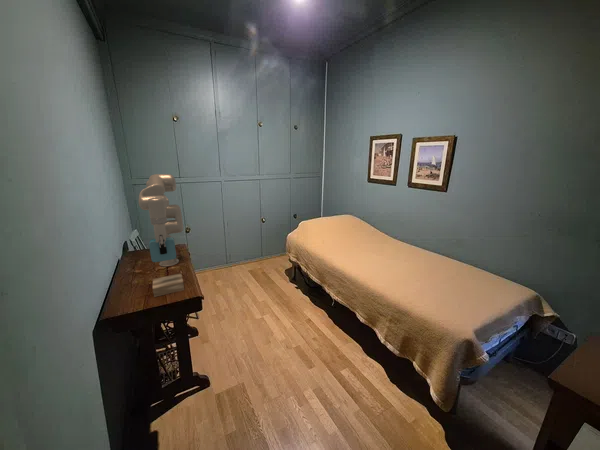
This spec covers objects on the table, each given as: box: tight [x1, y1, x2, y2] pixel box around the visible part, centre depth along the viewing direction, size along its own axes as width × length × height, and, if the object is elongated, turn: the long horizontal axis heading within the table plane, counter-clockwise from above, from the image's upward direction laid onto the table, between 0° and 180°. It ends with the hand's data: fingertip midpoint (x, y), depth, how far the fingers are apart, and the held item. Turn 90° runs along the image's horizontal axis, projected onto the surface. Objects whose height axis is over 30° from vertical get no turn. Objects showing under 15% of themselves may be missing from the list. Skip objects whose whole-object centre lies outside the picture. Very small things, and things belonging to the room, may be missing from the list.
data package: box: [148, 236, 177, 263], centre depth 132 cm, size 12×4×12 cm, turn 119°
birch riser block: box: [152, 272, 185, 298], centre depth 137 cm, size 13×15×5 cm
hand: (163, 252), depth 132 cm, fingers closed on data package, 4 cm apart
